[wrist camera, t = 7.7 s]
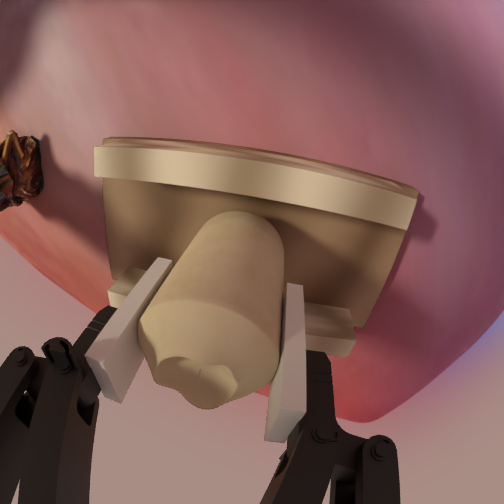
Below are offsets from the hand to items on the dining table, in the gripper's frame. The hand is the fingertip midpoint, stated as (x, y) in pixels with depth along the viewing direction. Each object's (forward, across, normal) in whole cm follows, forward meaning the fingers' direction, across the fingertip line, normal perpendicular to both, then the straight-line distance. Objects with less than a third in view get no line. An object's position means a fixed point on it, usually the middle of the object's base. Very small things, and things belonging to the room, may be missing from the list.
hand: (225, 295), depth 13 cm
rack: (+7, 0, 0) cm, 7 cm away
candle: (+5, 0, 0) cm, 5 cm away
